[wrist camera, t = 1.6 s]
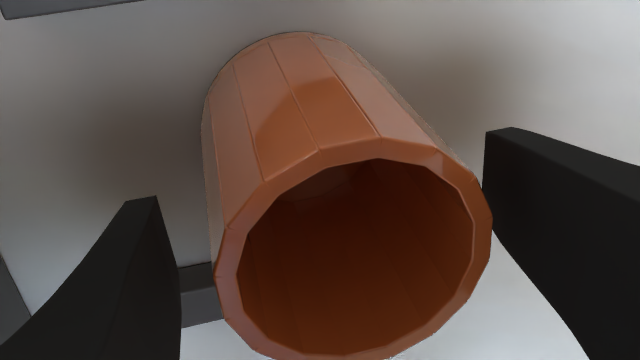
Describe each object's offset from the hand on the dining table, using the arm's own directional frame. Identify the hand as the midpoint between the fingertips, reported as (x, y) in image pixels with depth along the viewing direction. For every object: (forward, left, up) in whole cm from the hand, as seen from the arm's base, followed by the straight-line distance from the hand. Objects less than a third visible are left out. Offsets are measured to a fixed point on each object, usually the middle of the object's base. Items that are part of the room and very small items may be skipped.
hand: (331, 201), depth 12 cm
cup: (0, 0, -4) cm, 4 cm away
